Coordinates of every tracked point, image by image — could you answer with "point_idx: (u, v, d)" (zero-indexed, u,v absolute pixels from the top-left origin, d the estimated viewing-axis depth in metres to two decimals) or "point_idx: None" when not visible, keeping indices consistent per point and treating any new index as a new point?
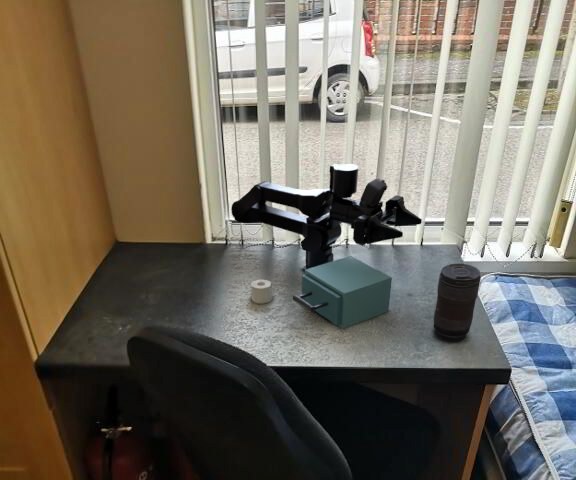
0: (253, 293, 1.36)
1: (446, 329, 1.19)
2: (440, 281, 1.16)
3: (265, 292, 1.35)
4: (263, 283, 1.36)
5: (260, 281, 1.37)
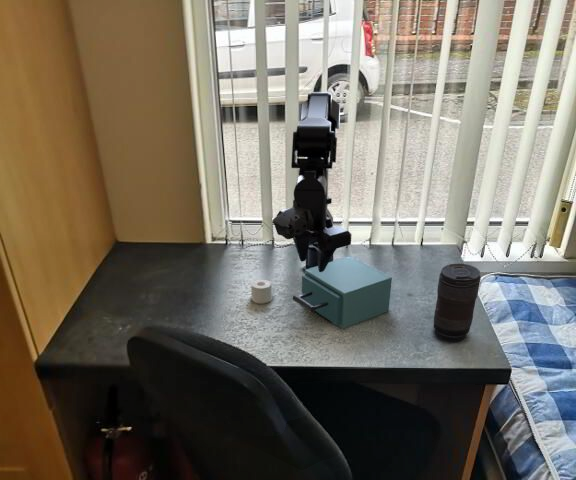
0: (253, 293, 1.36)
1: (446, 329, 1.19)
2: (440, 281, 1.16)
3: (265, 292, 1.35)
4: (263, 283, 1.36)
5: (260, 281, 1.37)
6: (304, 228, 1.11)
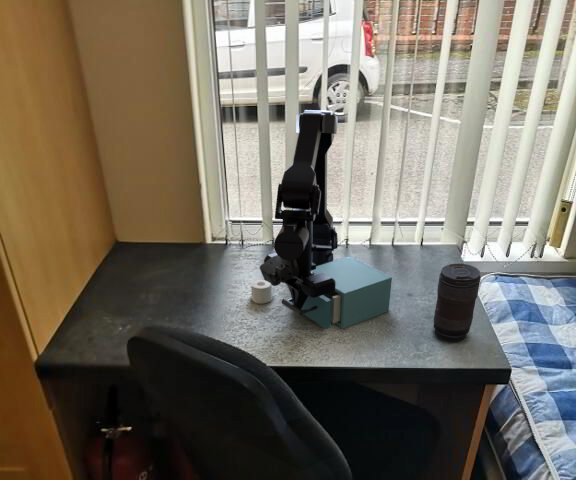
0: (253, 293, 1.36)
1: (446, 329, 1.19)
2: (440, 281, 1.16)
3: (265, 292, 1.35)
4: (263, 283, 1.36)
5: (260, 281, 1.37)
6: (290, 276, 1.14)
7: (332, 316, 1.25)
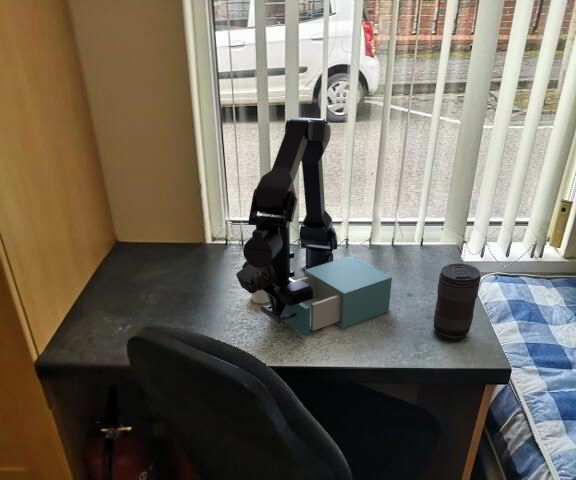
0: (253, 293, 1.36)
1: (446, 329, 1.19)
2: (440, 281, 1.16)
3: (265, 292, 1.35)
4: None
5: None
6: (266, 283, 1.12)
7: (312, 323, 1.23)
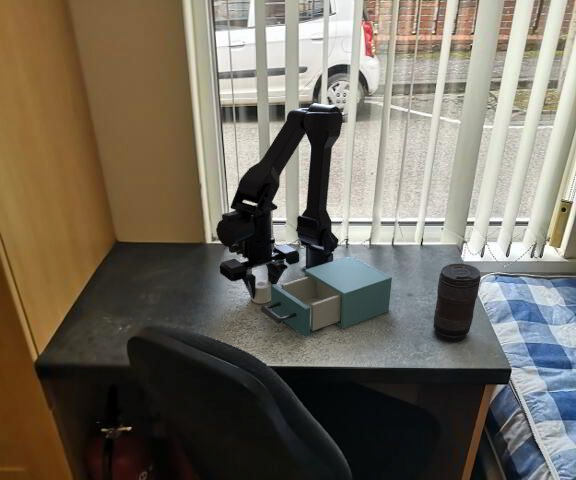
0: None
1: (446, 329, 1.19)
2: (440, 281, 1.16)
3: (264, 292, 1.35)
4: (263, 284, 1.36)
5: (260, 281, 1.37)
6: (232, 250, 1.33)
7: (312, 323, 1.23)
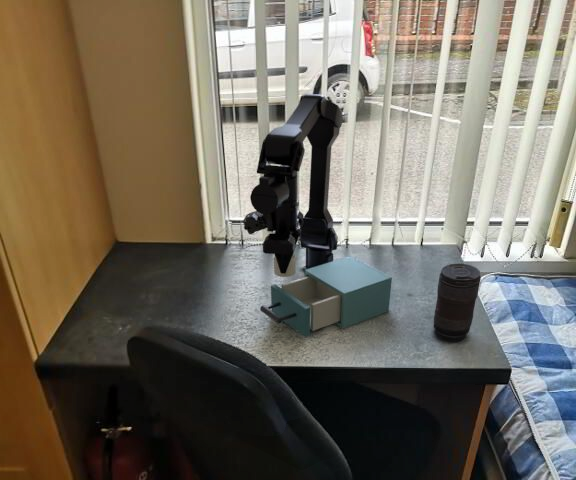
0: None
1: (446, 329, 1.19)
2: (440, 281, 1.16)
3: (294, 262, 1.26)
4: None
5: None
6: (256, 227, 1.18)
7: (312, 323, 1.23)
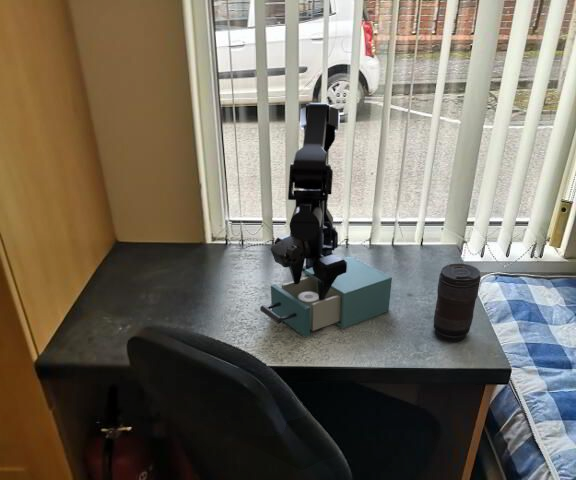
0: None
1: (446, 329, 1.19)
2: (440, 281, 1.16)
3: None
4: (309, 295, 1.26)
5: (303, 296, 1.26)
6: (301, 257, 1.14)
7: (312, 323, 1.23)
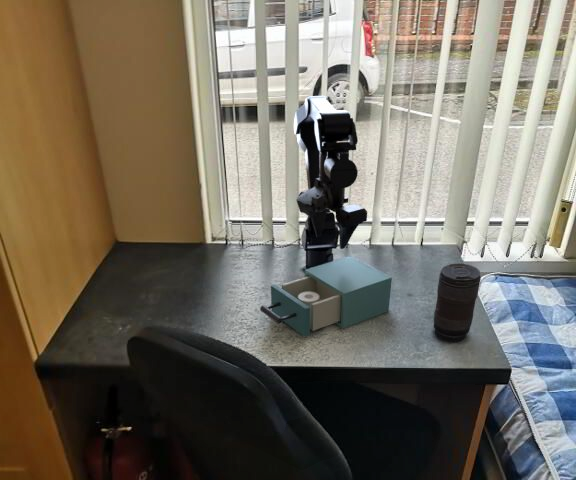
0: None
1: (446, 329, 1.19)
2: (440, 281, 1.16)
3: None
4: (309, 295, 1.26)
5: (303, 296, 1.26)
6: (325, 206, 1.23)
7: (312, 323, 1.23)
